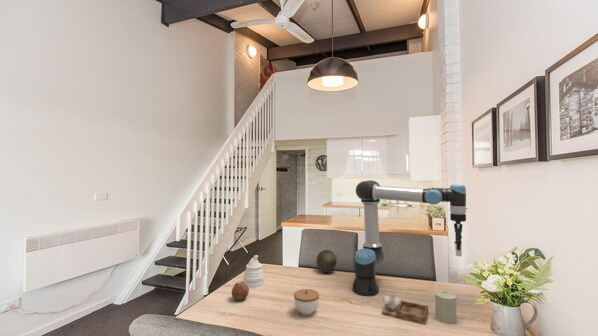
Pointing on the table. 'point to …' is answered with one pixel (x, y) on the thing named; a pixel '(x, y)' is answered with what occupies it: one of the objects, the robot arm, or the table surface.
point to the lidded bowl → (306, 301)
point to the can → (445, 307)
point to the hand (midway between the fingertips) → (458, 252)
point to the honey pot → (254, 273)
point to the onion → (240, 291)
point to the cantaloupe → (326, 260)
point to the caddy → (404, 310)
